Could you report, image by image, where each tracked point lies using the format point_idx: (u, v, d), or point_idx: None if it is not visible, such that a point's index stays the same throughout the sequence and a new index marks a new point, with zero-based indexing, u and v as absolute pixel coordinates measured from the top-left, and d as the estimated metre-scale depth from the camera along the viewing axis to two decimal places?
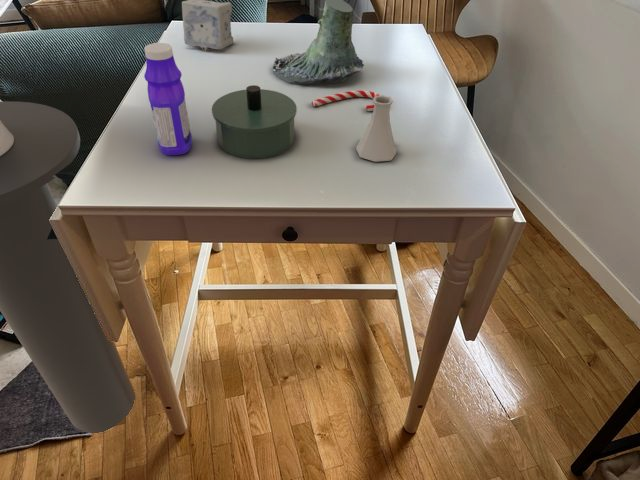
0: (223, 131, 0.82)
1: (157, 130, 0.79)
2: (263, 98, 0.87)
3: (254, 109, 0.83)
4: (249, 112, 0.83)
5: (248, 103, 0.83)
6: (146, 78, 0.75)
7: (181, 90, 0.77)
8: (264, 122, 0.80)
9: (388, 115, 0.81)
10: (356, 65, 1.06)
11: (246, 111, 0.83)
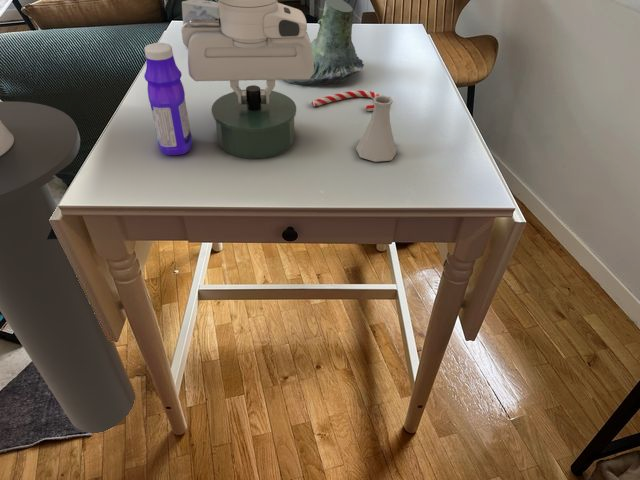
0: (223, 131, 0.82)
1: (157, 130, 0.79)
2: None
3: (254, 109, 0.83)
4: (249, 112, 0.83)
5: (248, 103, 0.83)
6: (146, 78, 0.75)
7: (181, 90, 0.77)
8: (264, 122, 0.80)
9: (388, 115, 0.81)
10: (356, 65, 1.06)
11: (246, 111, 0.83)
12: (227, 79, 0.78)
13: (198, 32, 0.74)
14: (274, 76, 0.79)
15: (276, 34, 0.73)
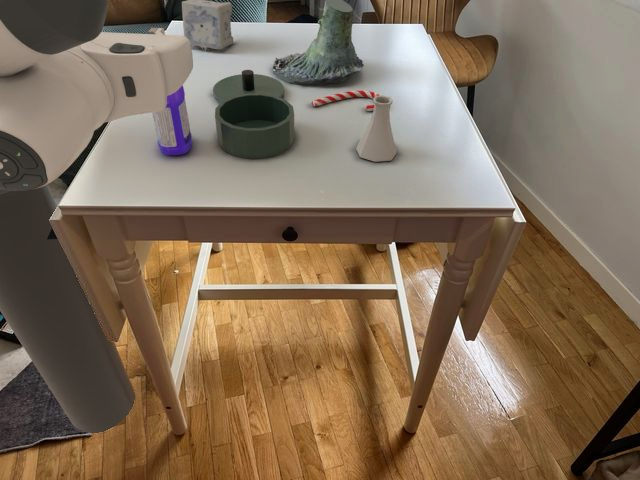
0: (223, 131, 0.82)
1: (157, 130, 0.79)
2: (256, 81, 1.03)
3: (248, 90, 0.99)
4: (244, 92, 0.99)
5: (243, 84, 0.99)
6: None
7: (181, 90, 0.77)
8: None
9: (388, 115, 0.81)
10: (356, 65, 1.06)
11: (241, 91, 0.99)
12: None
13: None
14: None
15: None
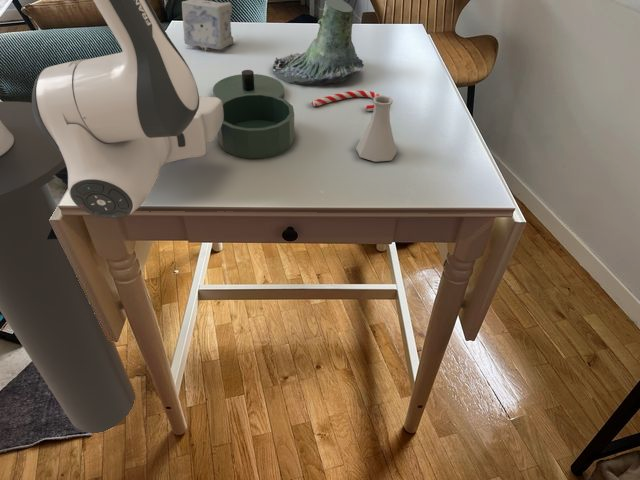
0: (223, 131, 0.82)
1: None
2: (256, 81, 1.03)
3: (248, 90, 0.99)
4: (244, 92, 0.99)
5: (243, 84, 0.99)
6: None
7: None
8: None
9: (388, 115, 0.81)
10: (356, 65, 1.06)
11: (241, 91, 0.99)
12: None
13: None
14: None
15: None
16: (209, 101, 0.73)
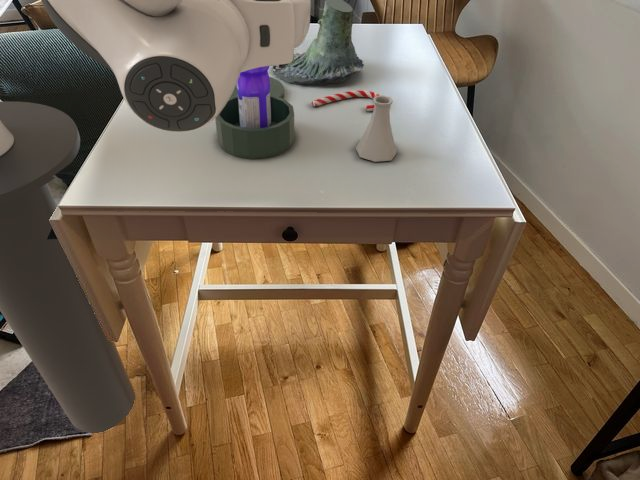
0: (223, 131, 0.82)
1: (243, 119, 0.82)
2: None
3: None
4: None
5: None
6: None
7: (268, 80, 0.80)
8: None
9: (388, 115, 0.81)
10: (356, 65, 1.06)
11: None
12: None
13: None
14: None
15: None
16: None
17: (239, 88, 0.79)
